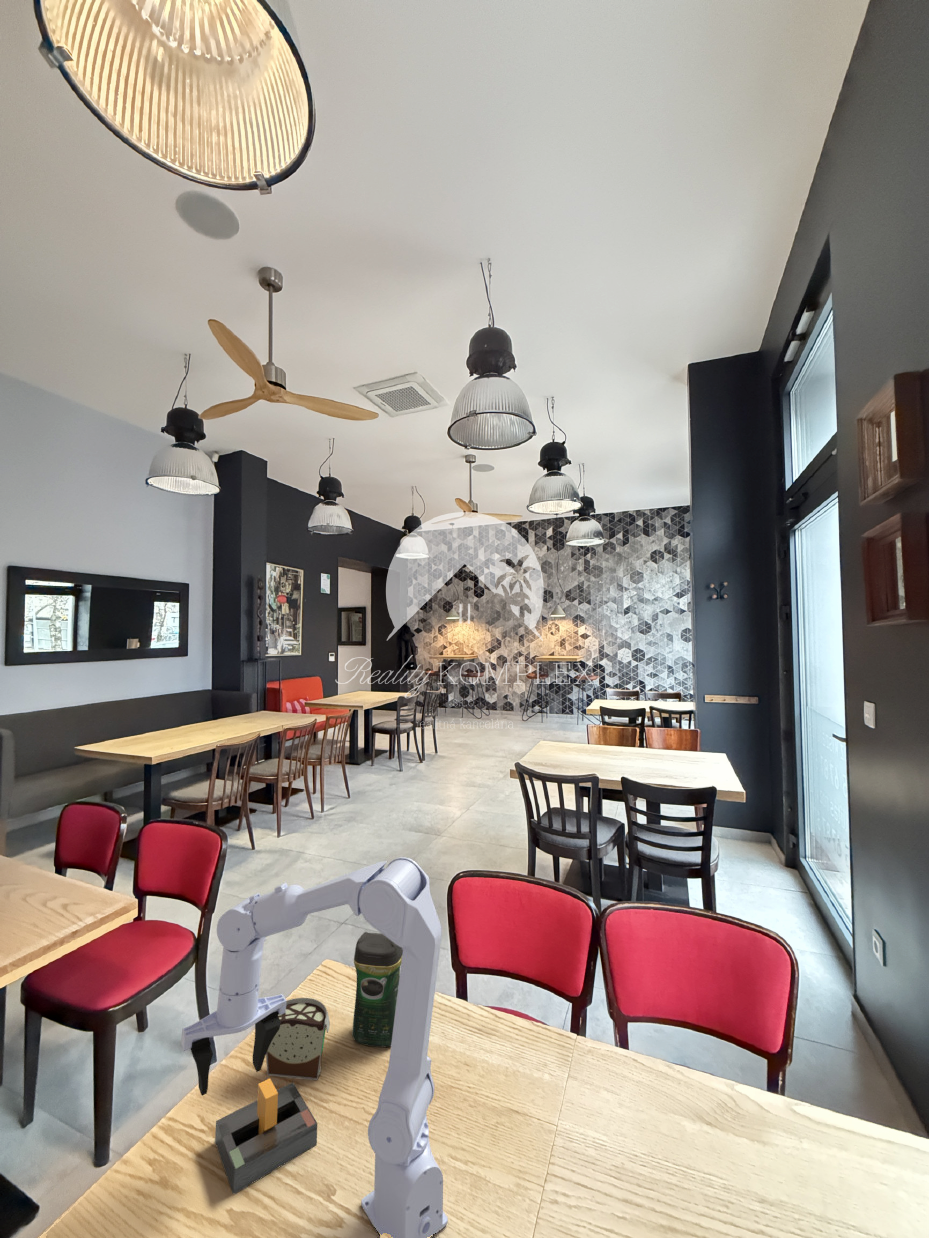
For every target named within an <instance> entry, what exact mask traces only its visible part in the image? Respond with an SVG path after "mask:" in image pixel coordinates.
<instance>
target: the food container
mask: <svg viewBox="0 0 929 1238" xmlns="http://www.w3.org/2000/svg"><path fill="white" fill-rule="evenodd" d="M286 1000H287V1001H286V1012H285V1013H284V1014H281V1015H278V1017H279V1019H280V1021H281V1023H280V1029H279V1031H278V1032H277V1033H276V1035H275V1037H274V1038H273V1040H272V1042H271V1044H270V1046H269V1048H268V1050H267V1053H266V1056H265V1061H266V1076H267V1077H268V1076H269V1077H279V1078H290V1079H300V1080H311V1081H319V1079H320V1076H321V1068H322V1060H323V1053H324V1044H325V1037H326V1033H327V1034H329V1033H328V1032H329V1030H330V1023H331V1022H330V1015H329V1013H328V1009H327V1007H326V1006H325V1004H324V1003H323V1002H321V1001H319V1000H318V999H315V998H312V997H296V998H291V999H286Z"/></svg>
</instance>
